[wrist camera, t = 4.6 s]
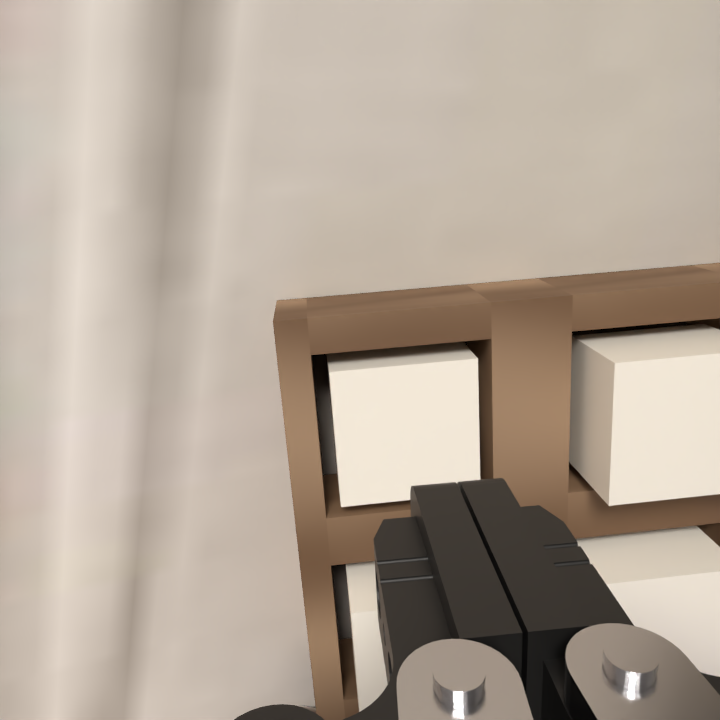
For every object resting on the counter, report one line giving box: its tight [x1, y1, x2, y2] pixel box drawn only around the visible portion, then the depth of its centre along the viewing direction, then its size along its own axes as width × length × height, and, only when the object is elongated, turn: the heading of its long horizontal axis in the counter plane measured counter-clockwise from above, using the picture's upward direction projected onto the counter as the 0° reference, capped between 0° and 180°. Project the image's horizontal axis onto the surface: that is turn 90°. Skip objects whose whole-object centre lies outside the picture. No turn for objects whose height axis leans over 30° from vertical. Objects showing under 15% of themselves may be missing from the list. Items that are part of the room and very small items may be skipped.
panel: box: [273, 263, 720, 720], centre depth 19 cm, size 12×20×3 cm, turn 94°
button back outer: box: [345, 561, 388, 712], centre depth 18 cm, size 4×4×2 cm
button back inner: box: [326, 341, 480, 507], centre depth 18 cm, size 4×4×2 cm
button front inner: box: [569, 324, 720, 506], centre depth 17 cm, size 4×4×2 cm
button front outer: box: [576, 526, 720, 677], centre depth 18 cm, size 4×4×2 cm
